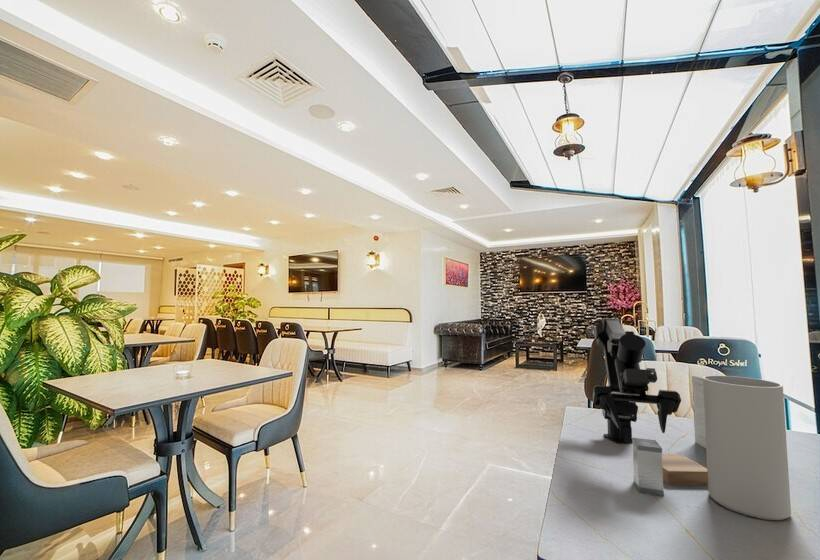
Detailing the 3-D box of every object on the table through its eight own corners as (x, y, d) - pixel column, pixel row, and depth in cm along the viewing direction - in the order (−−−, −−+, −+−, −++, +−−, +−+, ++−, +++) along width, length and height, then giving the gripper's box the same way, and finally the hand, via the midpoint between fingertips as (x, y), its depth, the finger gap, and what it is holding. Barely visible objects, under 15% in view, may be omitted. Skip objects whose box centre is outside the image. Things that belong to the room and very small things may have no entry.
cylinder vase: (775, 529, 68) (766, 389, 69) (696, 497, 79) (691, 378, 81) (802, 512, 73) (793, 383, 75) (725, 485, 84) (719, 373, 86)
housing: (633, 482, 86) (632, 437, 86) (657, 485, 84) (655, 440, 85) (639, 492, 81) (637, 445, 82) (664, 496, 79) (662, 448, 80)
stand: (642, 466, 94) (641, 453, 95) (681, 466, 94) (681, 454, 94) (669, 484, 84) (668, 471, 85) (713, 485, 84) (712, 471, 84)
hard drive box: (760, 465, 95) (756, 386, 97) (726, 463, 97) (722, 385, 98) (722, 443, 110) (719, 376, 112) (693, 441, 112) (690, 374, 113)
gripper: (592, 354, 97) (599, 407, 86) (676, 357, 91) (696, 415, 80) (590, 379, 104) (596, 431, 93) (668, 384, 98) (685, 441, 87)
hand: (641, 429), depth 88 cm, fingers open, 9 cm apart
